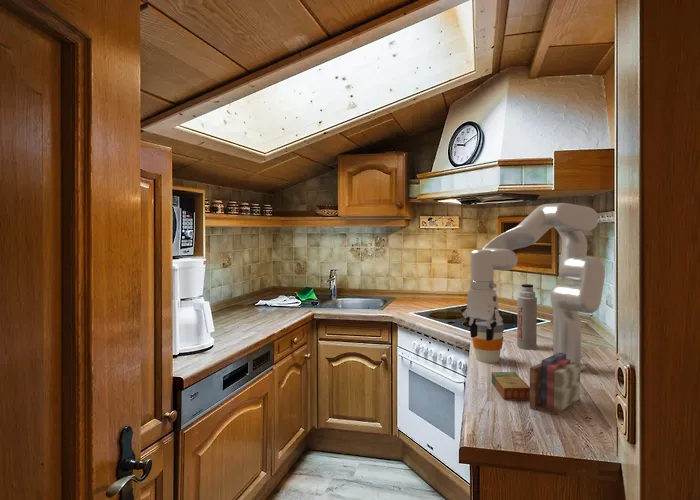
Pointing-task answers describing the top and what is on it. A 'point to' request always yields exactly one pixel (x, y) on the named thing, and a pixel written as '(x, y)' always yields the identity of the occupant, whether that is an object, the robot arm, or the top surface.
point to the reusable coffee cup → (488, 343)
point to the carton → (510, 386)
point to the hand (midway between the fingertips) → (481, 337)
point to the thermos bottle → (527, 318)
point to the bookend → (554, 384)
